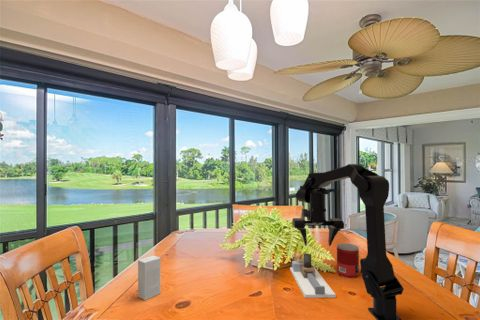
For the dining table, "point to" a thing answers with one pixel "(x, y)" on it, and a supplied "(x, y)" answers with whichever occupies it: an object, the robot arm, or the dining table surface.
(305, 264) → the carriage
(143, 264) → the skincare box
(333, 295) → the plate
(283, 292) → the dining table surface
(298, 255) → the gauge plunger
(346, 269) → the canned food
